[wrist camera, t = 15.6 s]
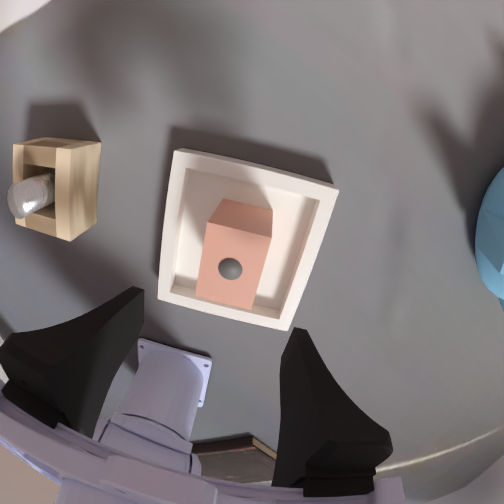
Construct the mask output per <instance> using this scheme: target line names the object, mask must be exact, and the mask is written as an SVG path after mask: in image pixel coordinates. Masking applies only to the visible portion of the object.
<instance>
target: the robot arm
mask: <svg viewBox="0 0 504 504" xmlns="http://www.w3.org/2000/svg"><path fill="white" fill-rule="evenodd" d="M143 323H144V289H140V288H137V287H134V286H132V287H131V288H129V289H127V290H126V291H124V292H122V293H121V294H119V295H117V296H116V297H114V298H113V299H111V300H109V301H108V302H106V303H104V304H103V305H101V306H99V307H97V308H95V309H93V310H91V311H90V312H88V313H86V314H84V315H82V316H79V317H77V318H75V319H72V320H70V321H67V322H64V323H61V324H58V325H55V326H52V327H48V328H44V329H39V330H34V331H28V332H20V333H12V334H11V335H10V336H9V337H8V338H7V340H6V341H5V342H4V343H3V344H2V345H1V346H0V364H1V366H2V368H3V370H4V372H5V374H6V376H7V377H8V379H9V380H8V381H7V383H6V384H5V383H4V382H3V380H1V379H0V443H1V444H2V445H3V446H4V447H6V448H7V449H8V450H10V451H11V452H12V453H13V454H15V455H16V456H17V457H19V458H20V459H21V460H23V461H24V462H25V463H27V464H28V465H30V466H31V467H33V468H34V469H36V470H37V471H38V472H40V473H41V474H43V475H45V476H46V477H48V478H49V479H51V480H53V481H54V482H56V483H58V484H59V485H61V488H60V490H59V492H58V494H57V497H56V500H55V502H54V504H406V503H405V497H404V491H403V486H402V480H401V477H395V478H387V479H380V480H376V481H374V482H373V476H374V475H375V474H376V469H375V467H376V466H378V465H379V464H380V463H382V462H383V461H385V460H386V459H387V458H388V457H389V456H390V455H391V454H392V452H393V447H392V442H391V437H390V434H389V431H387V430H386V429H384V428H383V427H381V426H380V425H379V424H377V423H376V422H375V421H373V420H372V419H371V418H370V417H369V416H367V415H366V414H365V413H364V412H363V411H362V410H361V409H360V408H359V407H358V406H357V405H356V404H355V403H354V402H353V401H352V400H351V399H350V398H349V397H348V396H347V395H346V393H345V392H344V391H343V390H342V388H341V387H340V386H339V385H338V383H337V382H336V381H335V379H334V378H333V376H332V375H331V373H330V372H329V370H328V369H327V367H326V365H325V364H324V362H323V360H322V358H321V356H320V355H319V353H318V351H317V349H316V347H315V345H314V343H313V341H312V339H311V337H310V335H309V333H308V331H307V330H305V329H300V328H296V327H294V329H293V331H292V333H291V336H290V338H289V340H288V343H287V345H286V347H285V350H284V352H283V354H282V356H281V365H280V406H281V422H280V432H279V441H278V449H277V456H276V463H275V469H274V475H273V480H272V485H271V486H261V485H252V484H245V483H238V482H231V481H225V480H220V479H214V478H209V477H205V476H201V463H200V461H199V459H198V456H197V455H196V454H193V453H191V450H192V446H193V444H192V443H190V442H189V438H190V434H191V430H192V426H193V423H194V419H195V415H196V411H197V407H202V406H203V403H204V398H205V393H206V389H207V384H208V379H209V375H210V370H211V365H212V359H211V358H209V357H205V356H202V355H198V354H194V353H190V352H187V351H183V350H180V349H176V348H173V347H169V346H166V345H163V344H159V343H156V342H153V341H150V340H147V339H143V338H139V340H138V360H139V368H138V370H137V372H136V374H135V376H134V378H133V380H132V382H131V385H130V387H129V389H128V391H127V393H126V395H125V397H124V399H123V402H122V404H121V406H120V408H119V410H118V412H114V415H113V417H112V419H111V421H110V419H109V418H107V417H103V418H100V419H98V418H99V415H100V412H101V409H102V406H103V403H104V400H105V398H106V395H107V393H108V390H109V388H110V385H111V383H112V381H113V378H114V376H115V374H116V372H117V371H118V369H119V367H120V366H121V364H122V362H123V360H124V359H125V357H126V355H127V354H128V352H129V350H130V349H131V347H132V345H133V344H134V342H135V340H136V339H137V336H138V334H139V332H140V330H141V327H142V325H143ZM206 364H207V365H206Z"/></svg>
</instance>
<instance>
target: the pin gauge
mask: <svg viewBox="0 0 504 504" xmlns="http://www.w3.org/2000/svg"><path fill="white" fill-rule="evenodd" d="M7 201H8V206H9V209H10V211H11V213H12V214H13V215H14V216H15V217H16V218H18V219H22V218H24V217H26V216H28V215H30V214H31V213H33V212H35V211H37V210H39V209H41V208H43V207H45V206H47V205H49V204H51V203H53V202H55V169H53V170H50V171H47V172H44V173H42V174H39V175H36V176H33V177H31V178H28V179H25V180H23V181H20V182H18V183H15V184H13V185H11V186H10V188H9V190H8V194H7Z"/></svg>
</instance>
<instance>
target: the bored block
mask: <svg viewBox="0 0 504 504" xmlns="http://www.w3.org/2000/svg"><path fill="white" fill-rule="evenodd" d="M101 143H102V142H93V141H84V140H73V139H62V138H49V137H42V138H38V139H33V140H29V141H24V142H20V143H16V144H13V184H15V183H18V182H20V181H23V180H25V179H28V178H31V177H33V176H36V175H39V174H42V173H44V172H47V171H50V170H53V168H55V202H53V203H51V204H49V205H47V206H45V207H43V208H41V209H39V210H37V211H35V212H33V213H31V214H30V215H28V216H26V217H24V218H22V219H18V218H16V217H15V220H16V224H18V225H21V226H24V227H27V228H30V229H33V230H36V231H39V232H42V233H45V234H48V235H51V236H54V237H58V238H61V239H64V240H67V241H70V242H71V241H72V240H73V239H75V238H76V237H77V236H79V235H80V234H82V233H83V232H84V231H86V230H87V229H89V228H90V227H92V226H93V225H94V224H96V223H97V191H98V175H99V162H100V152H101Z"/></svg>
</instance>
